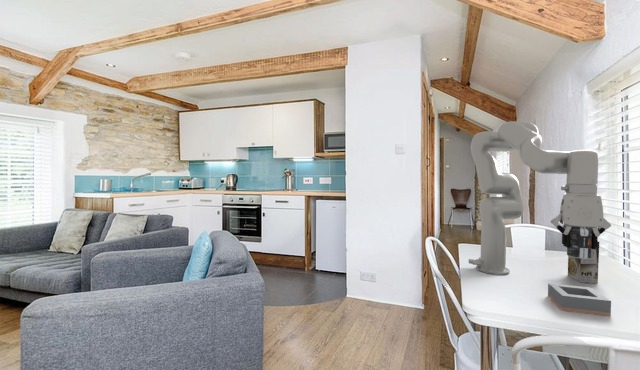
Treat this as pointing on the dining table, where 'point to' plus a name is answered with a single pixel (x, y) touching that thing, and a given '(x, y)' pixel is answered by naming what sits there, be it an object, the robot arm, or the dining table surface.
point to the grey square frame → (579, 299)
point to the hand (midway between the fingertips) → (579, 247)
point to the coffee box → (585, 267)
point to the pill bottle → (580, 242)
